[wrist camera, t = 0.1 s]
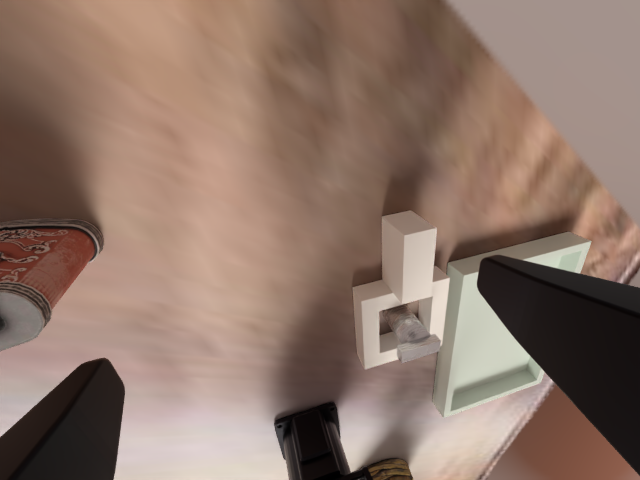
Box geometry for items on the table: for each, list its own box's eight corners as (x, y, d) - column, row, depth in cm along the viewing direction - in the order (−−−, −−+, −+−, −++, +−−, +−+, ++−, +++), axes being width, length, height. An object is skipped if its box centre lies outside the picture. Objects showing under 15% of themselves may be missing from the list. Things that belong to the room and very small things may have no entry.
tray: (525, 368, 40) (540, 382, 38) (432, 401, 37) (443, 418, 36) (568, 231, 31) (591, 241, 29) (447, 262, 28) (463, 275, 26)
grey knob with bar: (407, 317, 30) (438, 356, 25) (375, 326, 29) (401, 368, 25) (408, 297, 29) (441, 335, 24) (374, 306, 28) (402, 347, 24)
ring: (430, 331, 32) (451, 357, 29) (356, 353, 30) (371, 383, 27) (441, 203, 25) (471, 219, 22) (348, 223, 23) (366, 244, 20)
